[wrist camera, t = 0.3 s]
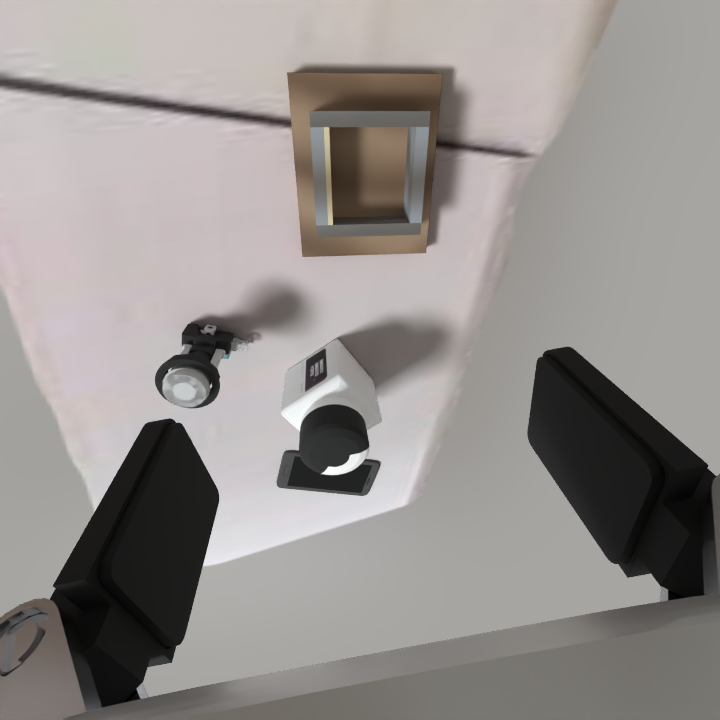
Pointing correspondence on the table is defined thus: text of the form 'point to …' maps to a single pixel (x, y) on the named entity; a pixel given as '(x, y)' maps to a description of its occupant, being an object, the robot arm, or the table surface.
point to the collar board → (364, 160)
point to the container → (331, 409)
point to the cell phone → (325, 477)
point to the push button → (196, 366)
